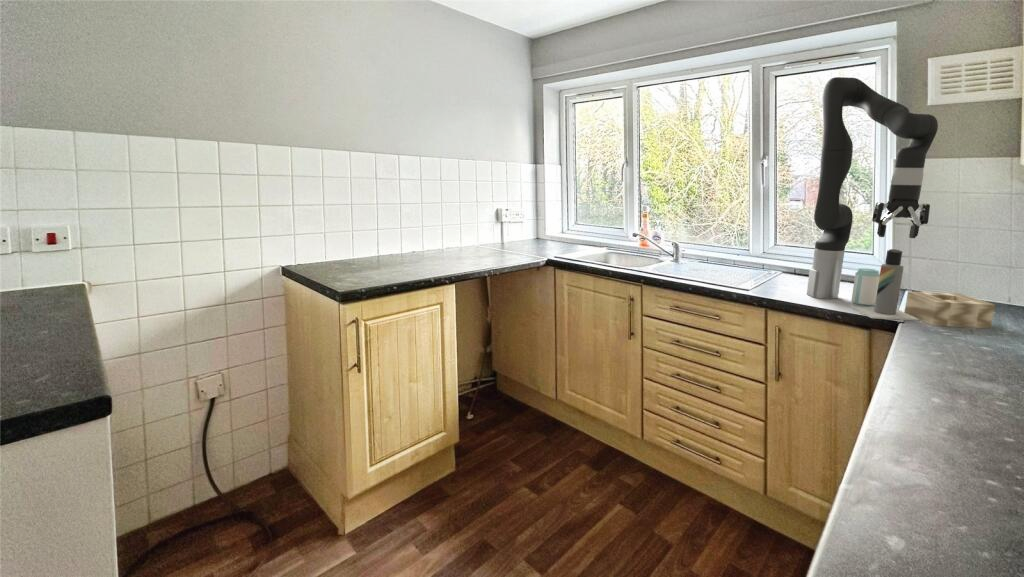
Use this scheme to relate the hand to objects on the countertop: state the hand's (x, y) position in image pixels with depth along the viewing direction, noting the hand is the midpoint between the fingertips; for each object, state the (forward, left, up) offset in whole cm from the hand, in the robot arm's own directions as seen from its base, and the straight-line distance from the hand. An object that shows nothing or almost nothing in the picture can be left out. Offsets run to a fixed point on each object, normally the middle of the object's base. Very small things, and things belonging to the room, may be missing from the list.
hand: (896, 237), depth 161 cm
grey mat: (0, 0, -24) cm, 24 cm away
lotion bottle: (0, 0, -24) cm, 24 cm away
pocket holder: (+15, -4, -24) cm, 29 cm away
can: (0, +14, -25) cm, 28 cm away
